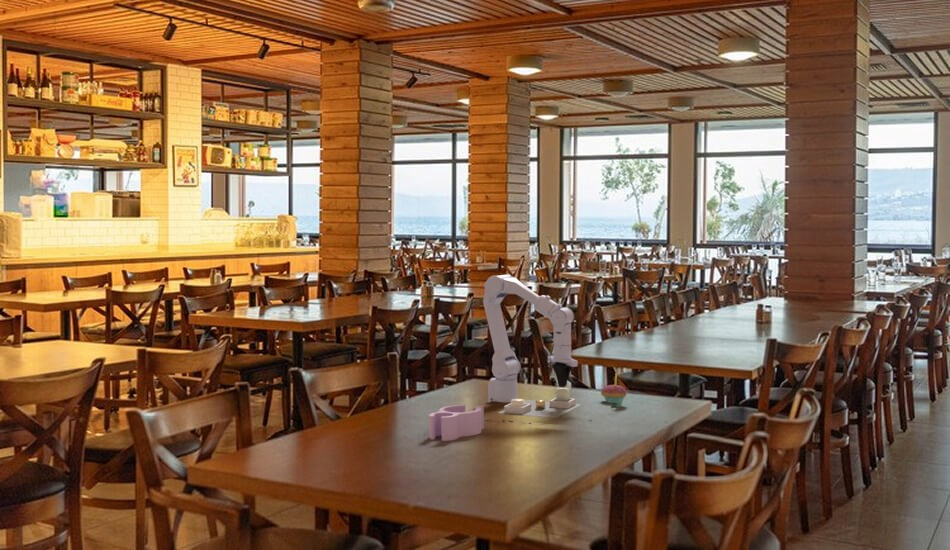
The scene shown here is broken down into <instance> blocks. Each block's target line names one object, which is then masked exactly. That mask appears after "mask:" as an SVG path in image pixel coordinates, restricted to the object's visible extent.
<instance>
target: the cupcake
mask: <svg viewBox="0 0 950 550" xmlns="http://www.w3.org/2000/svg"><path fill="white" fill-rule="evenodd" d="M614 375H615V376H614V384H608V385H606V386H603V388H602V389H601V391H600V394H601V396H602V397H603V398H604V400H605V402H606V403H609V404H613V405H612V406H610V407H611V408H619V407H622V404H623V401H624V399H625V398H626V397H627V389H626V388H625V387H623V386H622V385H619V384H617V381H618V370H617V371H616V372H615V374H614Z"/></svg>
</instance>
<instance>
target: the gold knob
mask: <svg viewBox="0 0 950 550" xmlns="http://www.w3.org/2000/svg"><path fill="white" fill-rule="evenodd" d="M535 401H536V409H545V401H546V400H543V399H537V400H535Z"/></svg>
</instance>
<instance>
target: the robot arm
mask: <svg viewBox="0 0 950 550" xmlns="http://www.w3.org/2000/svg"><path fill="white" fill-rule="evenodd" d="M483 287H484V295H483V301H482V304H483V308H484V311H485V315H486V320H487V325H488V328H489V333H490V338H491V342H492V346H493V350H494V351H493V352H494V353H493V355H492V358H491V361H492V366H491V372H492V374H493V376H494V377H491V378H490V379H489V381H488V385H487V388H488V389H487V393H488V395H487V396H488V397H487V400H488V401H487V403H488V404H489V403H491V402H498V403H511V400H512V399H518V374H520V371H521V367H522V366H521V363H520V361H519V359H518V357H517V356H516V352H514V351H513V349H511V345H510V341H509V336H508V333H507V329H506V324H505V320H504V316H503V311H502V307H501V302H502V301H503V300H504V298H505V297H506V296H507V295H509V294H515V295H517V296H518V297H519V298H522V299H523V300H526V302H529V303H530V304H532V305H533V308H534V310H535V311H536V312H538V313H539V314H541V315H542V316H544V317H546V318H547V319H548V320H549V321H550V322H551V325H552V327H553V355H547V362H549V363H554V364H552V365H551V368H552V369H553V371H554V373H555V377H556V380H557V383H558V386H559V387H560V388H563V387H566V386H568V385H567V383H568V379H569V377H570V374H571V371H572V370H573V368H575V367H578V365H579V361H578V360H576V359H574V358H572V323H573V322H574V317H575V316H574V312H573V310H572V309H570V308H569V306H568V307H567V306H563V305H562V304H561V303H557V302H555V301H554V300H552V299H551V296H550V295H543V294H542V295H539V294H537V293H536V292H534V291H533V290H532V289H530V288H529V287H528V286H526V285H525V284H523V283H522V282H520V280H519V279H518V278H516V277H513V275H511V274H507V273H505V274H501V275H491V276H489V277H488V278H487V280H486V281H485V283H484V284H483Z"/></svg>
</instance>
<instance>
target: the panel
mask: <svg viewBox="0 0 950 550" xmlns="http://www.w3.org/2000/svg"><path fill="white" fill-rule="evenodd" d="M524 400H525V406H524V407H514V406H511V402H509V403H508V404H506V405H504V406H503V409H502V410H500V411H497V414H505V415H516V416H527V417H541V418H549V419H550V418H552V419H556V418H559V417H560V416H563V415H565V414H566V413H568V412H570V411H572V410H574V409H576V408H579V407H580V406H582V403H576V400H577V399H576V398H573V397H572V398H570V397H569V400H568V401H557V400H556V397H554V398H552V399H550V400H549V401H546V400H545V409H536V400H533V399H531V400H530V399H524Z"/></svg>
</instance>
